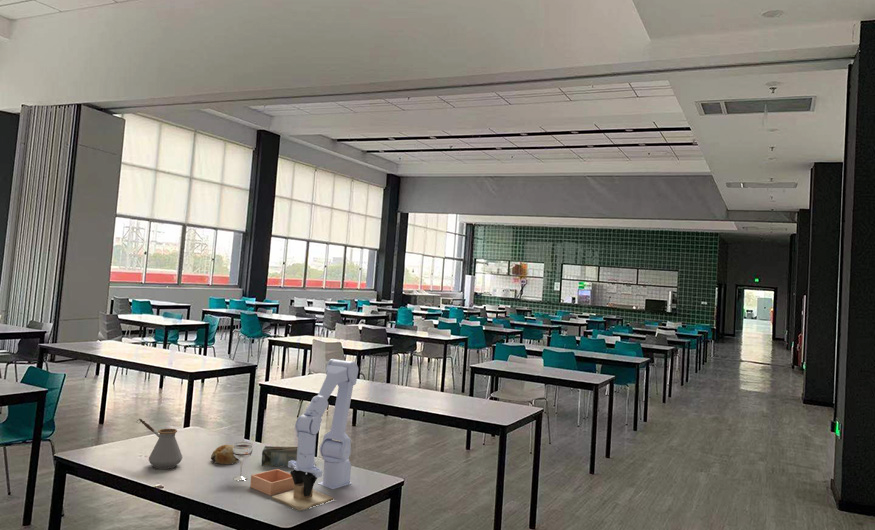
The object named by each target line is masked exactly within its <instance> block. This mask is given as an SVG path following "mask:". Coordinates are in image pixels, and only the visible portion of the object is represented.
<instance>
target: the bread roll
mask: <svg viewBox="0 0 875 530" xmlns="http://www.w3.org/2000/svg"><path fill="white" fill-rule="evenodd" d="M233 448H234V445H233V444H223V445H220V446H218V447H217V448H215V449H214V450H213V451H212V454H211V456H210V460H211V461H212V462H213V463H214V462H215V463H214V464H217V463H218V464H219V465H233V464H238V462H239V461H240V459H237V458H236V457H235V456H234V455H233ZM232 463H233V464H232Z"/></svg>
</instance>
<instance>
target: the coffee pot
mask: <svg viewBox="0 0 875 530" xmlns="http://www.w3.org/2000/svg"><path fill="white" fill-rule="evenodd" d="M138 421H139V424H142V425H144V427H145V428H147V429H148V430H149V431H150V432H152V433H153V434H155V436H157V437H158V438H157V439H158V440H157V441H156V443H155V445H154V447H153V448H152V449H153V450H152V451H151V453H150V455H149V457H148V462H149V464H150V465H152V466H153V468H155V469H161V470H163V469H164V470H165V469H172V468H175V467H176V466H177V465H178V464H180V463H181V462H182V460H183V455H182V451H181V449H180V446H179V444H178V441H177V438H176V433H177V432H178V430H177V429H176V428H163V429H159V430H158V432H157V431H156V430H155V429H154V428H153V426H152V425H150V424H149V423H147V422H146V421H145V420H143V419H142V418H139V419H138V420H136V422H138Z"/></svg>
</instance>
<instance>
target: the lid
mask: <svg viewBox="0 0 875 530" xmlns="http://www.w3.org/2000/svg"><path fill="white" fill-rule="evenodd" d="M271 497H272V499H274V500H276V501H279V502H281V503H283V504H286V505H288V506H290V507H293V508H295V509H297V510H303V509H307V508H310V507H313V506H316V505H319V504H322V503H326V502H328V501H331V500H333V499H334V497H333V496H330V495H327V494H326V493H323V492H319V491H318V490H315V489H314V487H313V488H312V491H311V494H310V496H306V497H305V496H304V483H299V484H295V485H294V489H293V490H289V491H285V492H282V493H278V494H275V495H271Z"/></svg>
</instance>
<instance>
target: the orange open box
mask: <svg viewBox="0 0 875 530" xmlns="http://www.w3.org/2000/svg"><path fill="white" fill-rule="evenodd" d="M249 487H250V488H252V489H254V490H256V491H258V492H261V493H263V494H266V495H268V496H271V497H272V496H274V495H278V494H281V493H285V492H288V491H292V490H294V481H293V478H292V476H291V474H290V472H288V471H284V470H282V469H279V468H276V469H271V470H268V471H263V472H258V473H254V474H251V475H250V485H249Z"/></svg>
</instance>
